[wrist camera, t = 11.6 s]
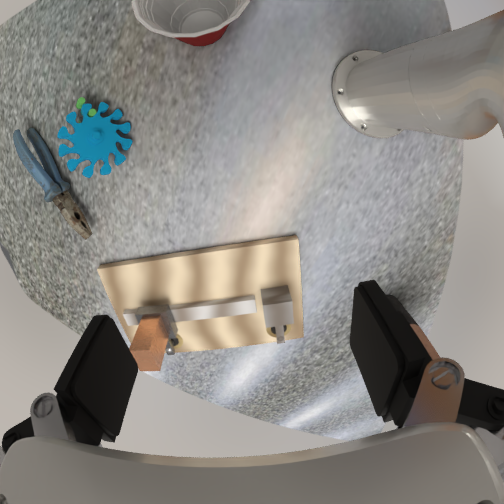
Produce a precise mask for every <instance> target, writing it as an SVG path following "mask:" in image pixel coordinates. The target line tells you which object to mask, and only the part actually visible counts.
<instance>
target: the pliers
mask: <svg viewBox="0 0 504 504" xmlns="http://www.w3.org/2000/svg"><path fill="white" fill-rule="evenodd" d="M27 137H28V138H29V140H30V141H31V143H32V144H33V146H34V148H35V150H36V152H37V154H38V156H39V158H40V160H41V163H42V165H43V167H44V169H43V167H42V166H41V165H40V164H39V162H38V161H37V160H36V158H35V157H34V155H33V154H32V153H31V151H30V150H29V148H28V146H27V145H26V143H25V141H24V139H23V137H22V135H21V132H20V130H19V129H18V130H15V132H14V134H13V140H14V144H15V147H16V150H17V153H18V155H19V157H20V159H21V161H22V163H23V164H24V166H25V167H26V169H27V170H28V171H29V173H30V174H31V175H32V176H33V178H34V179H35V180H36V181H37V182H38V183H39V184H40V186H41V187H42V188H43V189H44V191H45V197H44V200H45V201H46V202H51V201H53V202H54V204H55V205H56V206H58V208H59V209H60V211H61V214H62V215H63V217H64V218H65V220H66V221H67V222H68V224H69V225H70V226H71V227H72V228H73V229H74V230H75V231H77V232H78V233H79V234H80V235H81V236H82V237H83V238H84V239H85V240H86V239H87V238H89V237H90V236H91V235H92V232H91V230H90V227H89V225H88V223H87V221H86V219H85V217H84V215H83V213H82V211H81V210H80V208H79V207H78V206H77V204H76V203H74V201H73V199H72V198H71V195H70V194H69V192H68V191H67V190H68V189H69V188H70V184H69V183H68V182H65V181H63V180H62V179H61V177H60V175H59V172H58V169H57V167H56V165H55V162H54V160H53V158H52V156H51V153H50V151H49V149H48V148H47V146H46V144H45V142H44V141H43V139H42V138H41V137H40V135H39V134H38V133H37V132H36V131H35V129H34V128H29V129H28V130H27Z"/></svg>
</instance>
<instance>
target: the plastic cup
mask: <svg viewBox="0 0 504 504" xmlns="http://www.w3.org/2000/svg"><path fill="white" fill-rule="evenodd" d="M249 2H250V0H132V7H133V10H134V13H135V16H136V19H137V20H138V21H139V22H140V23H141V24H143V25H144V26H145V27H146V28H147V29H148V30H149V31H152V32H155V33H158V34H162V35H165V36H168V37H171V38H176V39H178V40H180V41H183V42H185V43H187V44H190V45H193V46H206V45H209V44H212V43H214V42H215V41H217V40H218V39H220V38H221V37H222V35H223V34H224V32H225V31H226V28H227V27H228V25H229V23H230V22H232V21H234V20H235V19H237V18H238V17H239V16H240V15H241V13H242V12H243V10H244V9H245V8H246V6H247V5H248V4H249Z"/></svg>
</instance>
